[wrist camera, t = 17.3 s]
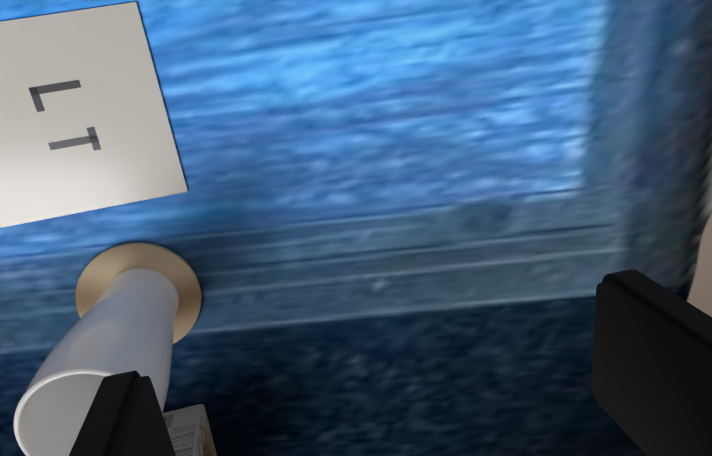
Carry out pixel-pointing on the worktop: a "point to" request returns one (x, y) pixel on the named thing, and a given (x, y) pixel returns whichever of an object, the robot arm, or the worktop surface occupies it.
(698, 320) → the robot arm
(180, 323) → the cork coaster
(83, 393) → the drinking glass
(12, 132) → the tile
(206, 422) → the coffee box
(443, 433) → the worktop surface
